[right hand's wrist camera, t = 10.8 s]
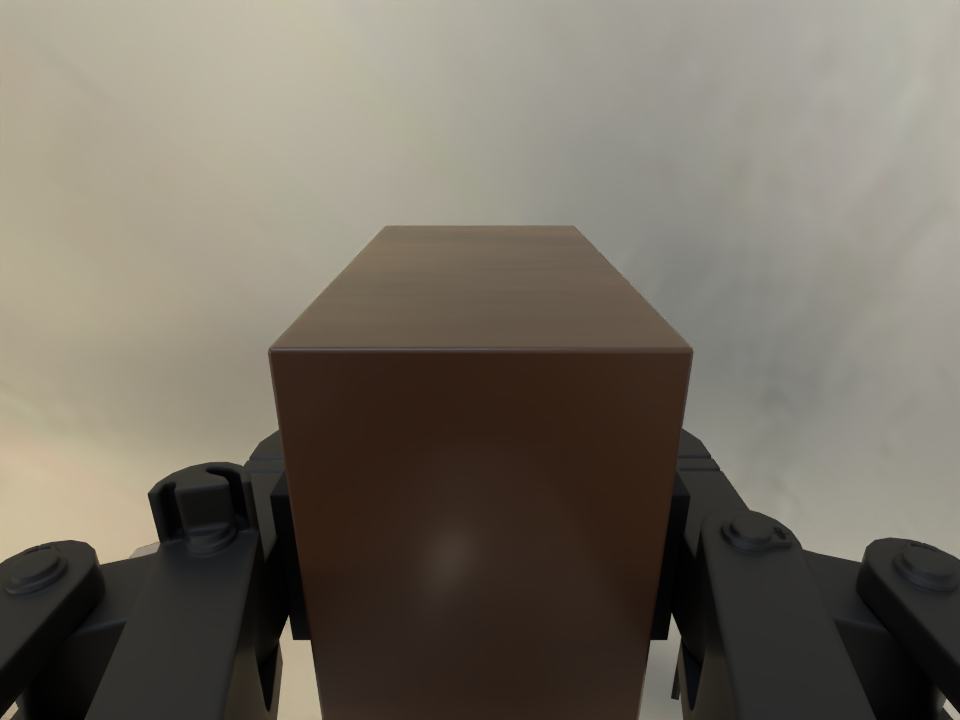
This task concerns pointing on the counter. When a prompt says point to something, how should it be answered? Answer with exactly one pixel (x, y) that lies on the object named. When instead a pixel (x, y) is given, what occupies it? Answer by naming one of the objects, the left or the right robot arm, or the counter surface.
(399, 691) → the walnut block
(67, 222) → the counter surface
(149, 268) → the counter surface
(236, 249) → the counter surface
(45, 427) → the counter surface
